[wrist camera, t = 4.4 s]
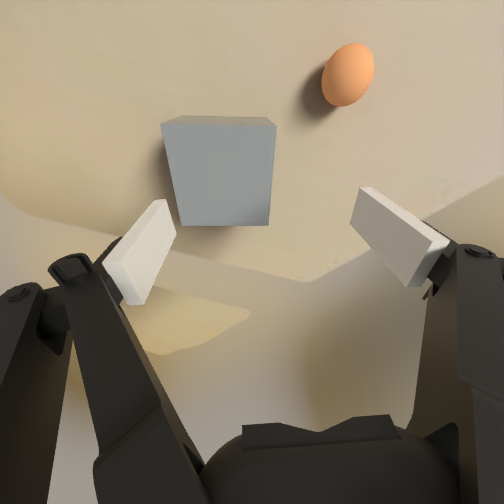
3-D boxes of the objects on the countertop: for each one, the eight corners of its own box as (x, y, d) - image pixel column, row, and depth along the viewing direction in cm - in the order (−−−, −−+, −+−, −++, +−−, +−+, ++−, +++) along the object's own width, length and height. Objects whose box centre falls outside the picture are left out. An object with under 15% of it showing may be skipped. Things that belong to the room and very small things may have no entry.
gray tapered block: (194, 196, 31) (181, 225, 24) (182, 115, 25) (160, 123, 18) (262, 196, 32) (268, 225, 25) (266, 117, 26) (276, 126, 19)
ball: (311, 105, 25) (325, 106, 21) (320, 47, 22) (338, 36, 18) (351, 106, 25) (372, 108, 21) (366, 49, 22) (394, 39, 18)
